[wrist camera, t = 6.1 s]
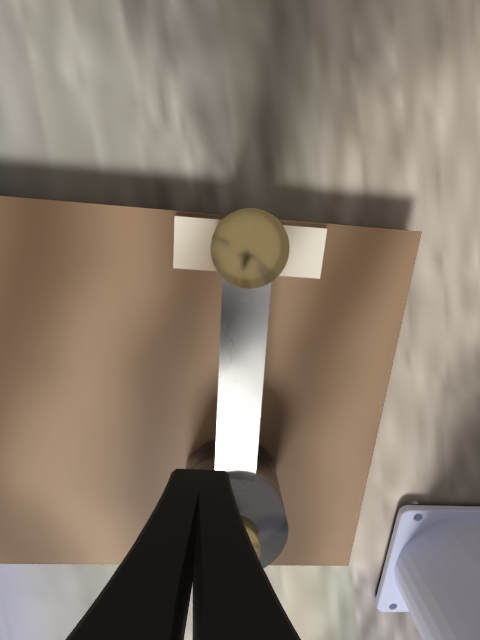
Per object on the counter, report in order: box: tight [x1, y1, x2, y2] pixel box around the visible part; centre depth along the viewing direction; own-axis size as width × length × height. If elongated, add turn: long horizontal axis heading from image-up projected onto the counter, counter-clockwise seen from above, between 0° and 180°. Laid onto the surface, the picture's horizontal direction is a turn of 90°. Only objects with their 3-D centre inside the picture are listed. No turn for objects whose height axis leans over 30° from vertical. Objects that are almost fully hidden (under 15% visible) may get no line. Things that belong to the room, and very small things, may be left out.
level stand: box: [0, 196, 422, 566], centre depth 16 cm, size 20×18×2 cm
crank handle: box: [186, 208, 290, 568], centre depth 14 cm, size 18×4×4 cm, turn 177°
